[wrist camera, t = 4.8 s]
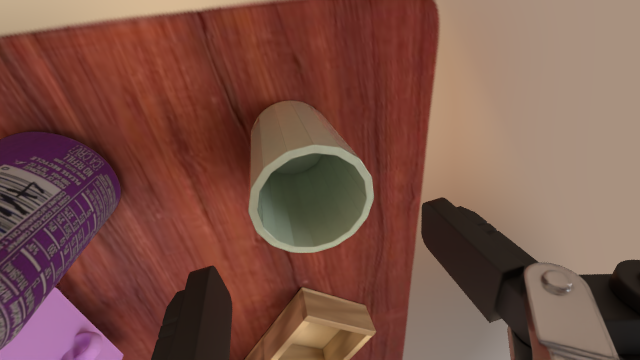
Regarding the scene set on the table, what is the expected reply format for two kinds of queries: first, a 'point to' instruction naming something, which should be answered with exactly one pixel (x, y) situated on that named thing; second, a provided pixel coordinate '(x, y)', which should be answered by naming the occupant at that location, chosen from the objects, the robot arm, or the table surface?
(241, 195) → the table surface
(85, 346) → the teapot
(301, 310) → the holder
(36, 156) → the beverage can
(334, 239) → the cup
